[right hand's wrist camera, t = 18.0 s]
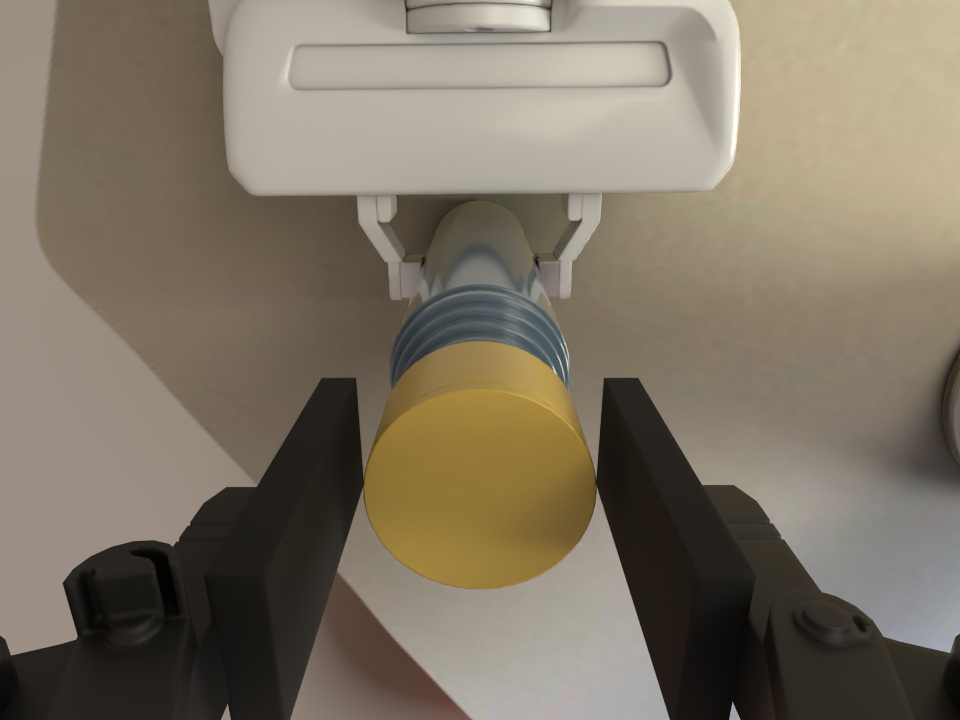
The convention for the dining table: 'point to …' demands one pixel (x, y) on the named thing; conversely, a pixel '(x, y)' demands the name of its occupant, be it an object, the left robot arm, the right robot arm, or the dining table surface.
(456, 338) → the bottle
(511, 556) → the cap
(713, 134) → the left robot arm
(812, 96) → the dining table surface
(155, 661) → the right robot arm
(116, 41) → the dining table surface
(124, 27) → the dining table surface
